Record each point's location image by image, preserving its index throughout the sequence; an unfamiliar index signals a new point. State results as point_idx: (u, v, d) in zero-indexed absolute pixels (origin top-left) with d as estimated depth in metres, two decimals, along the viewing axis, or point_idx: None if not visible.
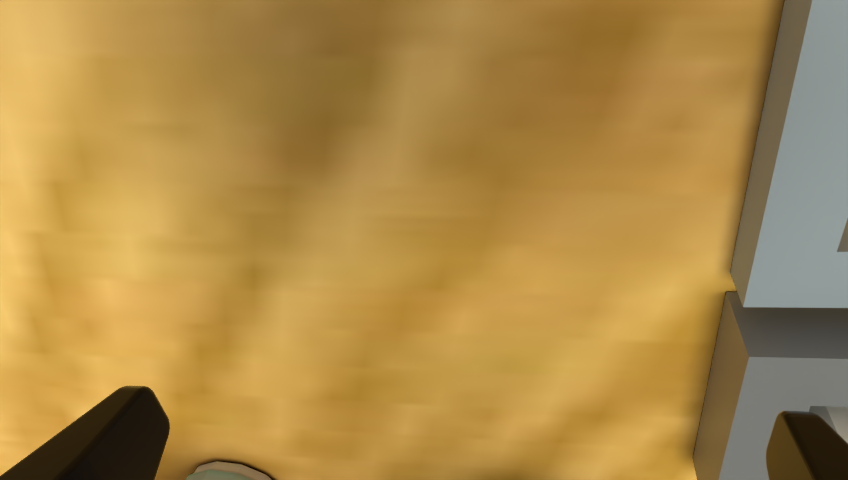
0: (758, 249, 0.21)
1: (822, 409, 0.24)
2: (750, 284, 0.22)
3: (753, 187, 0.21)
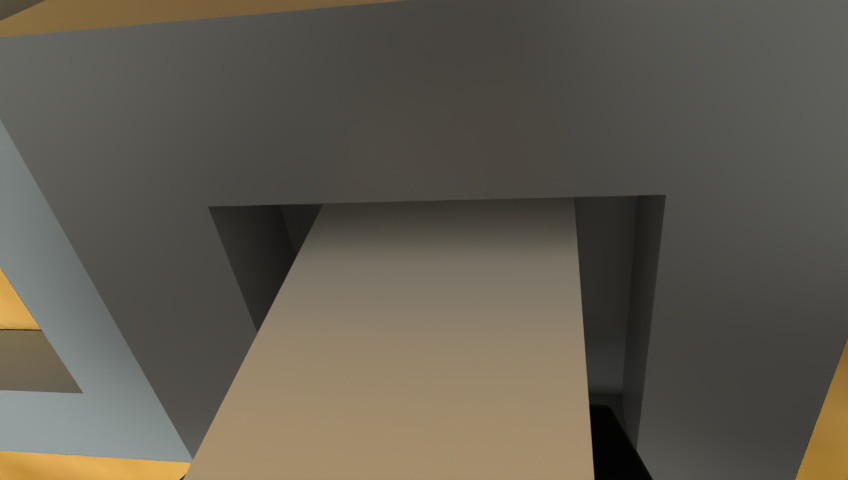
0: (120, 456, 0.16)
1: None
2: (176, 459, 0.16)
3: None
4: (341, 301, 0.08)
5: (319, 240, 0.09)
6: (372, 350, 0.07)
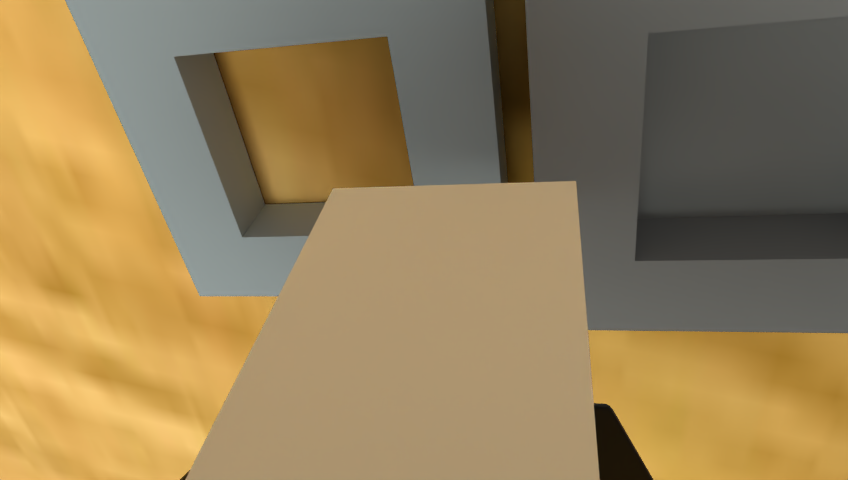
0: None
1: None
2: None
3: None
4: (343, 300, 0.08)
5: (320, 238, 0.09)
6: (374, 349, 0.07)
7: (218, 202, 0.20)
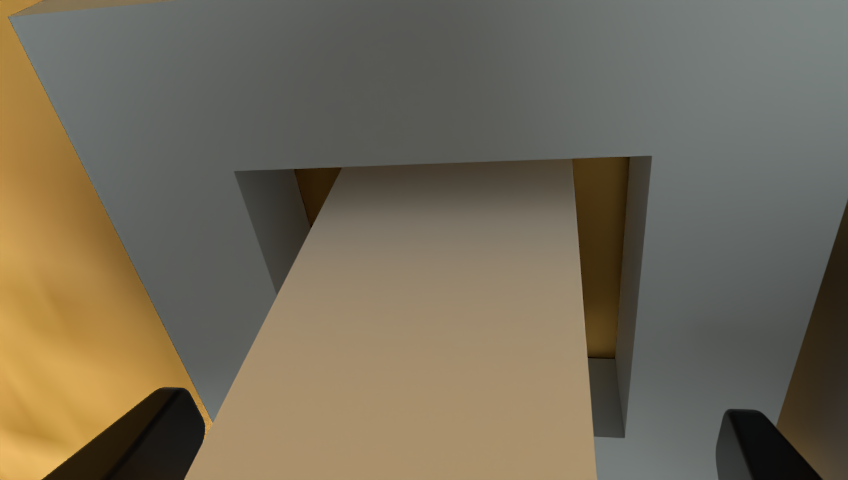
0: None
1: None
2: None
3: None
4: (360, 253, 0.09)
5: (337, 202, 0.10)
6: (390, 292, 0.08)
7: None
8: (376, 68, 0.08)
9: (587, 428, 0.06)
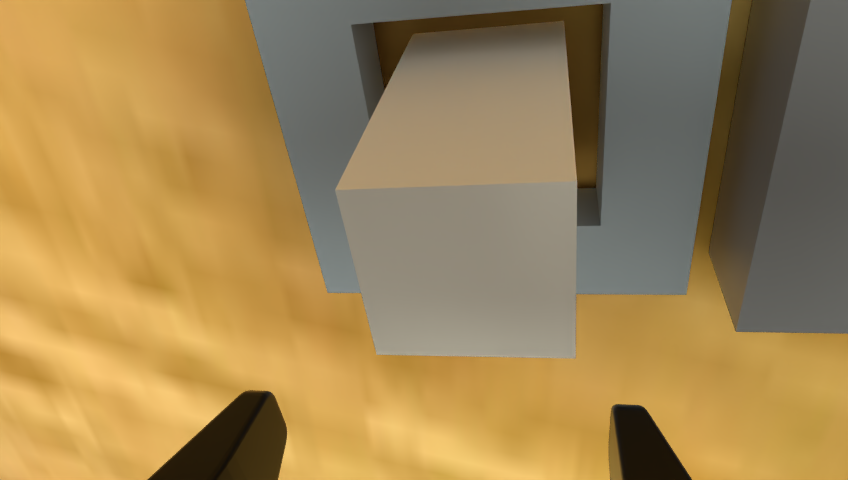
0: (592, 292, 0.19)
1: None
2: (647, 292, 0.18)
3: None
4: (432, 71, 0.15)
5: (411, 52, 0.16)
6: (454, 83, 0.14)
7: None
8: None
9: (568, 117, 0.12)
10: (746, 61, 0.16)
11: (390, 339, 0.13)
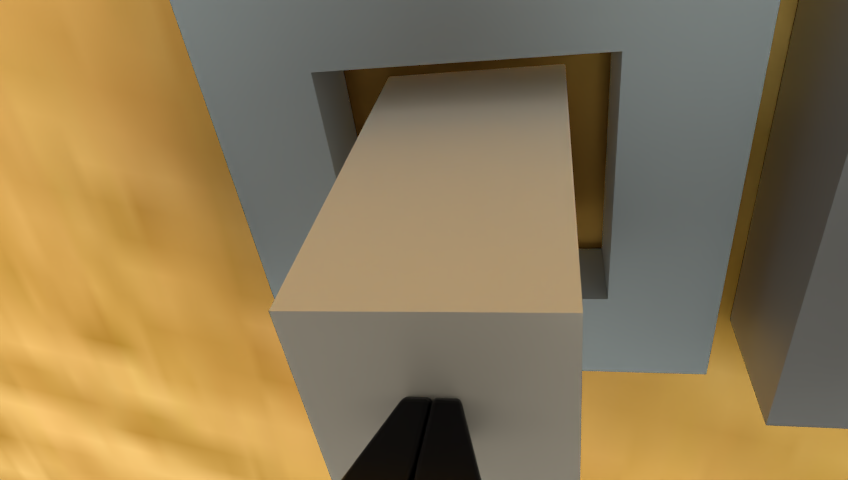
0: (598, 369, 0.16)
1: None
2: (661, 370, 0.16)
3: None
4: (406, 129, 0.12)
5: (385, 102, 0.13)
6: (431, 148, 0.11)
7: None
8: None
9: (571, 207, 0.09)
10: (781, 113, 0.13)
11: None
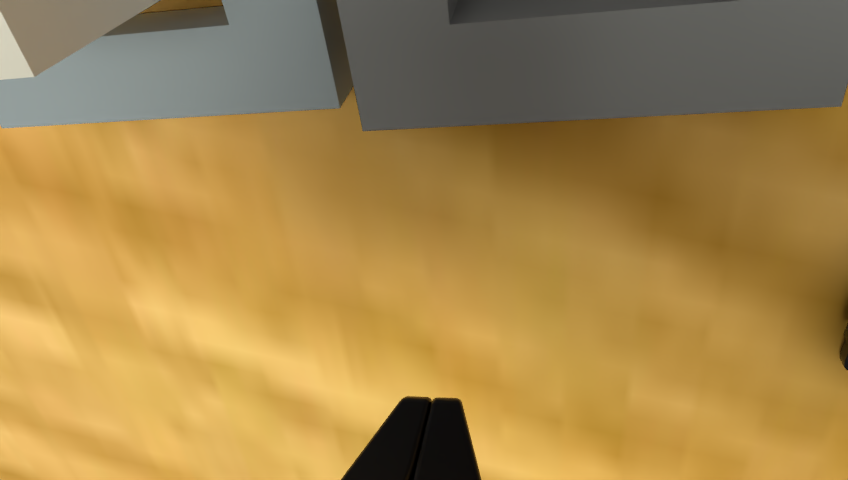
0: (250, 111, 0.18)
1: None
2: (302, 107, 0.17)
3: None
4: None
5: None
6: None
7: None
8: None
9: None
10: None
11: None
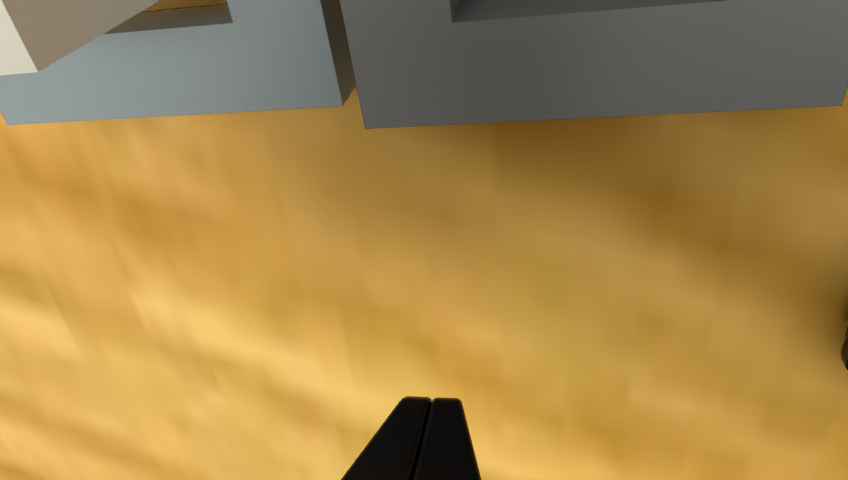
0: (254, 108, 0.18)
1: None
2: (305, 105, 0.18)
3: None
4: None
5: None
6: None
7: None
8: None
9: None
10: None
11: None
